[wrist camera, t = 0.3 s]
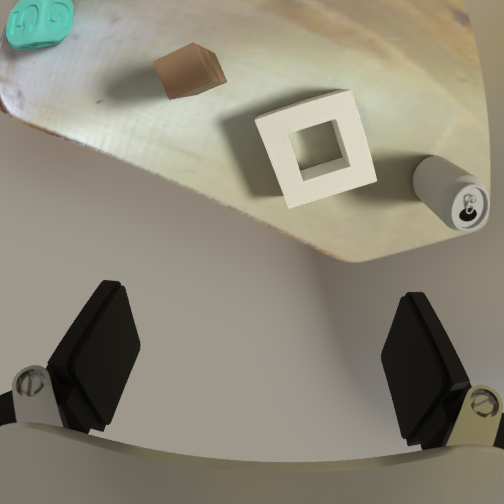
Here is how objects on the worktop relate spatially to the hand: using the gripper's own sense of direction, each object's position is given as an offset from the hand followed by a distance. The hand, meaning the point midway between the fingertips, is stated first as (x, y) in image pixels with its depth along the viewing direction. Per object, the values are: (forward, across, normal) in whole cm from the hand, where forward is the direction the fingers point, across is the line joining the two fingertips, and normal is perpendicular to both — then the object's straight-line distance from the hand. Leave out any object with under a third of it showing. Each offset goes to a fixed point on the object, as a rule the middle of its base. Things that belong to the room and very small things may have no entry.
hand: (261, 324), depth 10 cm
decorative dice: (+35, +33, -22) cm, 53 cm away
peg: (+35, +8, -9) cm, 37 cm away
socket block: (+35, -6, 0) cm, 36 cm away
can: (+35, -24, +3) cm, 43 cm away
